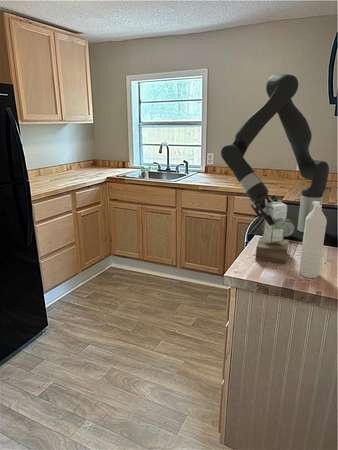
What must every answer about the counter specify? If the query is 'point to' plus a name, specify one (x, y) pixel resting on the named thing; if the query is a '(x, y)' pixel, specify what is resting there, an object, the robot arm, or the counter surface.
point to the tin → (286, 228)
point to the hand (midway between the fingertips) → (278, 222)
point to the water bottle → (313, 242)
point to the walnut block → (272, 251)
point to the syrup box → (279, 217)
